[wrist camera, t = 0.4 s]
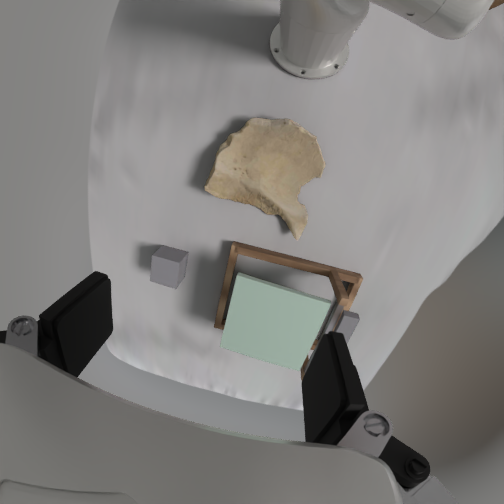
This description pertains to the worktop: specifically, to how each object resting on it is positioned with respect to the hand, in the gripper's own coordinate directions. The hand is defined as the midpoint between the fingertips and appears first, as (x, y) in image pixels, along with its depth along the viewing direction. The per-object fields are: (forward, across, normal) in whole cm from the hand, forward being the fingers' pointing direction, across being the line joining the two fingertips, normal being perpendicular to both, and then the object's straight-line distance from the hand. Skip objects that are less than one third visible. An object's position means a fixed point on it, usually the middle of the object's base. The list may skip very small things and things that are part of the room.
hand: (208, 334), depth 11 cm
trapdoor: (+27, -9, +17) cm, 33 cm away
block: (+35, +12, +14) cm, 40 cm away
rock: (+35, -2, -5) cm, 35 cm away
